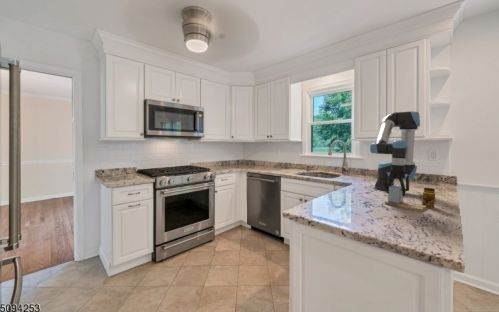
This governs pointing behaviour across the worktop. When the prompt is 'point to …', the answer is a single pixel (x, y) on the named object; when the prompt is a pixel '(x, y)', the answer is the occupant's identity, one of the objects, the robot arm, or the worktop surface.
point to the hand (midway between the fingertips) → (395, 199)
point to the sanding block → (394, 194)
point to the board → (408, 206)
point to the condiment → (428, 198)
